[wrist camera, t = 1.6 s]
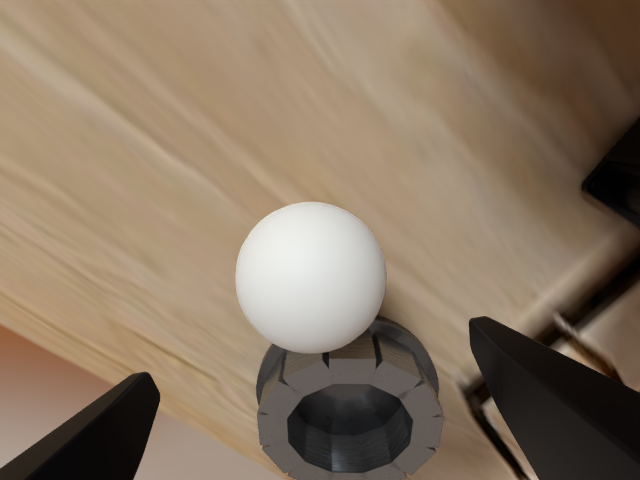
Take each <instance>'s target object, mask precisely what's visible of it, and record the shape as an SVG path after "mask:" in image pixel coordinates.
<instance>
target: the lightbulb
mask: <svg viewBox="0 0 640 480" xmlns="http://www.w3.org/2000/svg"><path fill="white" fill-rule="evenodd" d="M386 275H387V272H386V265H385V259H384V256H383V253H382V251H381V248H380V246H379V243H378V241H377V239H376V238H375V236H374V235H373V233H372V232H371V230H370V229H369V228H368V227H367V226H366V225H365V224H364V223H363V222H362V221H361V220H360V219H358V218H357V217H355V216H354V215H352V214H351V213H349V212H348V211H346V210H344V209H342V208H339V207H337V206H334V205H331V204H326V203H321V202H302V203H297V204H292V205H288V206H286V207H283V208H281V209H278V210H276V211H274V212H272V213H271V214H269V215H268V216H266V217H265V218H263V219H262V220H261V221H260V222H259V223H258V224H257V225H256V226H255V227H254V228H253V229H252V231H251V232H250V234H249V235H248V237H247V239H246V240H245V242H244V243H243V245H242V247H241V250H240V253H239V256H238V259H237V266H236V275H235V282H236V291H237V296H238V300H239V303H240V306H241V309H242V311H243V313H244V314H245V316H246V318H247V319H248V321H249V322H250V323H251V325H252V326H253V327H254V328H255V329H256V330H257V331H258V332H259V334H260V335H262V336H263V337H264V338H266V339H267V340H268V341H269V342H271V343H273V344H275V345H277V346H279V347H281V348H284V349H286V350H289V351H293V352H299V353H323V352H329V351H332V350H335V349H338V348H341V347H343V346H345V345H347V344H348V343H350V342H352V341H353V340H354V339H356V338H357V337H358V336H359V335H361V334H362V333H363V332H364V331H365V330H366V329H367V328H368V327H369V326H370V324H371V323H372V322H373V321H374V319H375V317H376V315H377V314H378V312H379V310H380V307H381V304H382V301H383V298H384V295H385V289H386Z"/></svg>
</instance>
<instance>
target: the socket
mask: <svg viewBox="0 0 640 480" xmlns="http://www.w3.org/2000/svg"><path fill="white" fill-rule="evenodd" d="M438 389H439V387H438V378H437V374H436V370H435V368H434V365H433V363H432V361H431V358H430V356H429V354H428V352H427V350H426V349H425V347H424V346H423V344H422V343H421V342H420V341H419V340H418V339H417V338H416V337H415V335H413V334H412V333H411V332H410V331H408V330H407V329H406V328H404V327H402V326H401V325H399V324H397V323H396V322H393V321H391V320H389V319H386V318H384V317H380V316H377V315H376V317H375V319H374V321H373V322H372V323H371V324H370V326H369V327H368V328H367V329H366V330H365V331H364V332H363V333H362V334H361V335H359V336H358V337H357V338H356V339H354V340H353V341H352V342H350V343H348V344H347V345H345V346H343V347H341V348H338V349H335V350H332V351H329V352H323V353H299V352H293V351H289V350H286V349H284V348H281V347H279V346H277V345H275V344H272V345H271V346H270V348H269V349H268V351H267V352H266V354H265V356H264V358H263V361H262V364H261V367H260V370H259V374H258V379H257V385H256V395H257V400H258V405H259V409H258V413H257V419H258V429H259V439H260V445H263V447H262V450H263V451H264V452H265V453H266V454H267V455H268V456H269V457H270V458H271V460H272V461H273V462H274V463H275V464H276V465H277V466H278V467H279V468H280V469H281V470H282V472H283V473H286V472H288V471H289V474H288V476H290V477H292V478H295V479H297V480H402V479H405V478H407V476H406V473H408V474H410V475H412V474H413V473H414V472H415V471H416V470H417V469H418V468H419V467H421V466H422V465H423V464H424V463H425V462H426V461H427V460H428V459H429V458H430V457H431V456H432V455H433V454H434V453H435V452H436V451H435V448H438V446H439V441H440V436H441V431H442V425H443V420H444V416H443V411H442V408H441V406H440V403H439V401H438Z"/></svg>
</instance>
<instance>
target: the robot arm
mask: <svg viewBox="0 0 640 480" xmlns="http://www.w3.org/2000/svg"><path fill="white" fill-rule="evenodd" d="M594 182H595V185H594V187H593V188H591V185H592V184H593V183H594ZM582 190H583V191H584V192H585V193H586V194H588V195H589V196H591V197H592V198H594V199H595V200H597V201H598V202H600V203H601V204H603V205H604V206H606V207H607V208H609V209H610V210H611V211H613V212H614V213H616V214H617V215H619V216H620V217H622V218H623V219H625V220H626V221H628V222H629V223H631V224H632V225H634V226H635V227H636V228H638V229H639V230H640V118H639V119H638V120H637V121H636V123H635V124H634V125H633V126H632V127H631V128H630V129H629V131H628V132H627V133H626V134H625V135H624V136H623V137H622V138H621V140H620V141H619V142H618V143H617V144H616V145H615V146H614V147H613V149H612V150H611V151H610V152H609V153H608V154H607V155H606V157H605V158H604V159H603V160H602V161H601V162H600V163H599V164H598V166H597V167H596V168H595V169H594V170H593V171H592V172H591V174H590V175H589V176H588V177H587V178H586V179H585V180H584V182H583V183H582ZM469 334H470V346H471V350H472V353H473V355H474V357H475V360H476V362H477V364H478V366H479V369H480V371H481V373H482V375H483V377H484V380H485V382H486V384H487V386H488V388H489V391H490V393H491V395H492V397H493V399H494V402H495V404H496V406H497V408H498V410H499V412H500V413H501V415H502V417H503V419H504V421H505V422H506V424H507V426H508V427H509V429H510V431H511V432H512V434H513V436H514V438H515V439H516V441H517V443H518V444H519V446H520V448H521V450H522V451H523V453H524V455H525V456H526V458H527V460H528V461H529V463H530V465H531V467H532V468H533V470H534V472H535V473H536V475H537V477H538V479H539V480H640V393H639V392H637V391H635V390H633V389H631V388H629V387H627V386H625V385H623V384H621V383H619V382H617V381H615V380H613V379H611V378H609V377H607V376H605V375H603V374H601V373H599V372H597V371H595V370H593V369H591V368H589V367H587V366H585V365H583V364H581V363H579V362H577V361H575V360H573V359H571V358H569V357H567V356H565V355H563V354H561V353H559V352H557V351H555V350H553V349H551V348H549V347H547V346H545V345H543V344H541V343H539V342H537V341H535V340H533V339H531V338H529V337H527V336H525V335H523V334H521V333H519V332H517V331H515V330H513V329H511V328H509V327H507V326H505V325H503V324H501V323H499V322H497V321H495V320H493V319H491V318H489V317H487V316H482V317H476V318H471V319H470V320H469ZM159 402H160V392H159V390H158V388H157V386H156V384H155V383H154V381H153V379H152V377H151V375H150V374H149V373H148V372H140V373H135V374H132V375H130V376H129V377H127V378H126V379H125V380H123V381H122V382H120V383H119V384H118V385H116V386H115V387H113V388H112V389H111V390H109V391H108V392H106V393H105V394H104V395H102V396H101V397H99V398H98V399H97V400H95V401H94V402H92V403H91V404H90V405H88V406H87V407H85V408H84V409H83V410H82V411H80V412H78V413H77V414H76V415H74V416H73V417H72V418H70V419H69V420H67V421H66V422H65V423H63V424H62V425H60V426H59V427H58V428H56V429H55V430H53V431H52V432H51V433H49V434H48V435H46V436H45V437H44V438H42V439H41V440H40V441H38V442H37V443H35V444H34V445H33V446H31V447H30V448H28V449H27V450H25V451H24V452H23V453H21V454H20V455H19V456H17V457H16V458H14V459H13V460H12V461H10V462H9V463H7V464H6V465H5V466H3V467H2V468H0V480H133V479H134V477H135V474H136V472H137V469H138V467H139V464H140V461H141V459H142V456H143V453H144V450H145V447H146V444H147V441H148V437H149V434H150V431H151V428H152V425H153V421H154V418H155V415H156V412H157V409H158V406H159Z"/></svg>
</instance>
